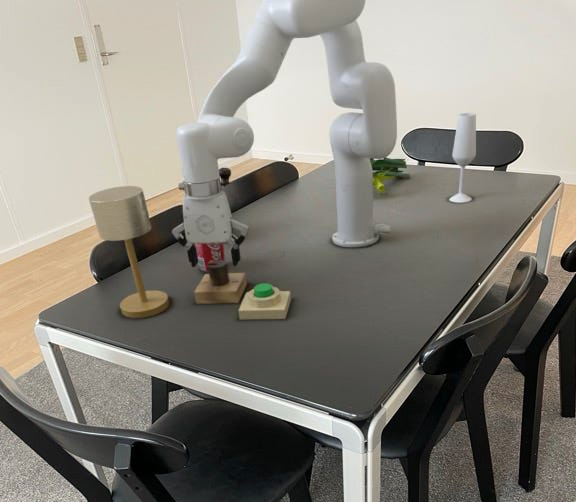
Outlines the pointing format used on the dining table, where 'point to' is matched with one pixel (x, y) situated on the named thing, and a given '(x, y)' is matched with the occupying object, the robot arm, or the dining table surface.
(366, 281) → the dining table surface
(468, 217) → the dining table surface
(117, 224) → the desk lamp
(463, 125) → the champagne flute
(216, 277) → the dimmer knob
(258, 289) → the lamp button
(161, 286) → the dining table surface
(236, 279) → the panel
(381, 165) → the daffodil flowers
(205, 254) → the soda can
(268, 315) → the switch block
